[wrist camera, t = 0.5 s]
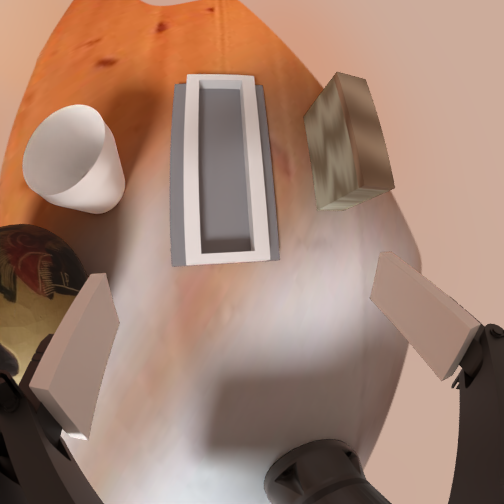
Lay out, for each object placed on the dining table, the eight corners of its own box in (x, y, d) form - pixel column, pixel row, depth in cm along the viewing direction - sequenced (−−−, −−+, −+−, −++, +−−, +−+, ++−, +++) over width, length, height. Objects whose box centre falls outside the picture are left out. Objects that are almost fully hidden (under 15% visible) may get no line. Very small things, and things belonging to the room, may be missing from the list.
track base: (276, 260, 32) (285, 258, 29) (172, 266, 30) (170, 265, 27) (260, 91, 34) (266, 77, 31) (175, 90, 32) (174, 75, 28)
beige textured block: (343, 210, 35) (394, 188, 24) (316, 210, 34) (364, 185, 24) (327, 120, 36) (365, 79, 25) (303, 117, 35) (336, 71, 24)
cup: (128, 145, 30) (103, 89, 18) (141, 210, 30) (113, 174, 18) (66, 168, 28) (22, 127, 16) (76, 233, 28) (23, 213, 16)
